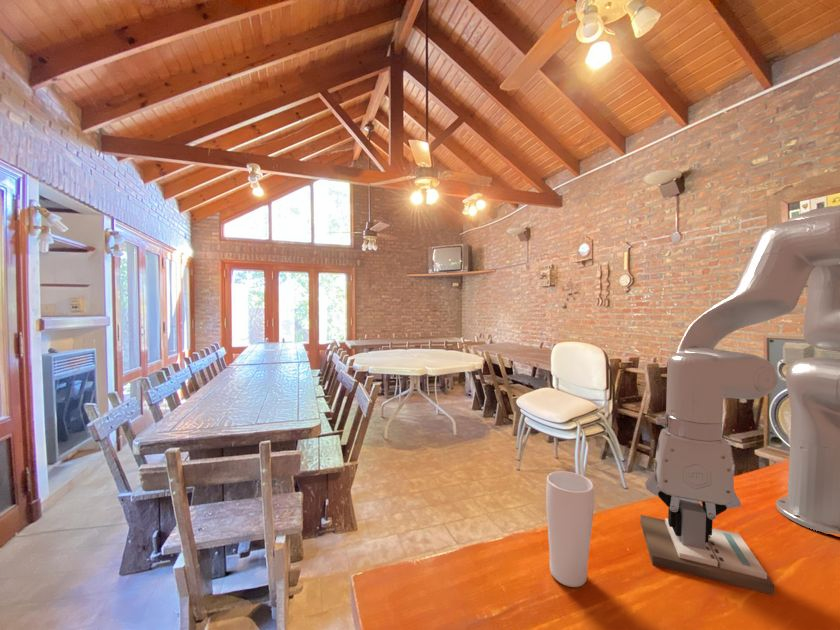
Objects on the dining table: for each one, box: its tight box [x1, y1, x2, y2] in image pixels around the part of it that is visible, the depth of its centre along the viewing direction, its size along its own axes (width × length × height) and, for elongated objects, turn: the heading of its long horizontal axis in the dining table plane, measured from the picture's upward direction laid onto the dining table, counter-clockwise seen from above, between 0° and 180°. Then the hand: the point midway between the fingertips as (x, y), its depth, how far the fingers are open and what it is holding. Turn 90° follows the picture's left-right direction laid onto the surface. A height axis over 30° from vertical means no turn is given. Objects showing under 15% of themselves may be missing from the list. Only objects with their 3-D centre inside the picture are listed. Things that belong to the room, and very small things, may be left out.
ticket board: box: [639, 514, 776, 596], centre depth 60 cm, size 12×15×2 cm
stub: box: [664, 498, 718, 567], centre depth 61 cm, size 10×5×7 cm, turn 156°
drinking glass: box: [545, 470, 595, 588], centre depth 55 cm, size 7×7×15 cm
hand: (689, 533), depth 61 cm, fingers closed on stub, 3 cm apart
